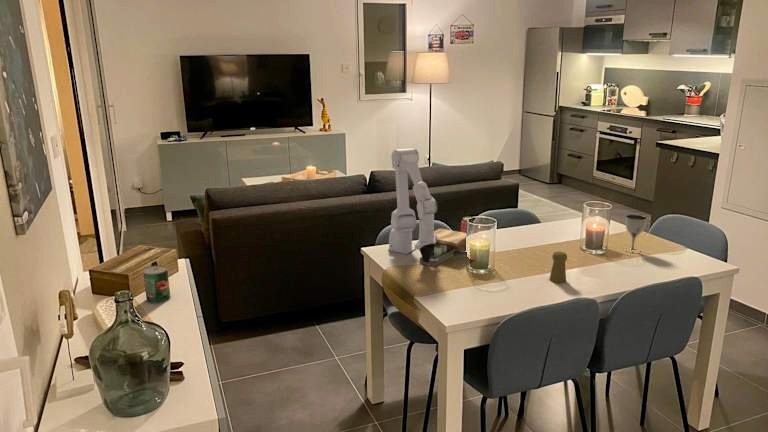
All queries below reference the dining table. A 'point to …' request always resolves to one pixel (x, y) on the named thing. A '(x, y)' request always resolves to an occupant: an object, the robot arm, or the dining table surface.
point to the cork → (558, 268)
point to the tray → (438, 260)
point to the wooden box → (451, 239)
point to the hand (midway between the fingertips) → (425, 261)
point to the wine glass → (635, 226)
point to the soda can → (464, 224)
